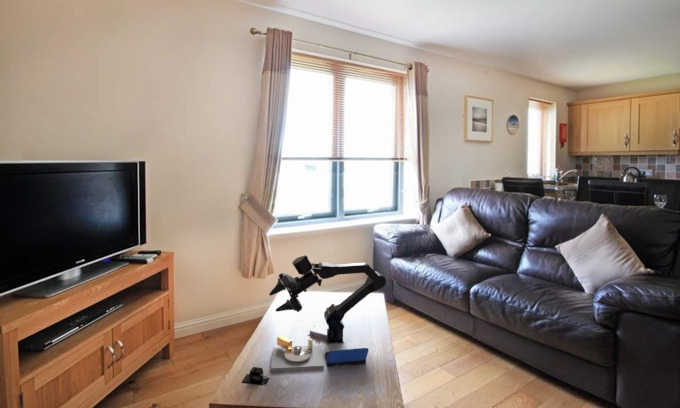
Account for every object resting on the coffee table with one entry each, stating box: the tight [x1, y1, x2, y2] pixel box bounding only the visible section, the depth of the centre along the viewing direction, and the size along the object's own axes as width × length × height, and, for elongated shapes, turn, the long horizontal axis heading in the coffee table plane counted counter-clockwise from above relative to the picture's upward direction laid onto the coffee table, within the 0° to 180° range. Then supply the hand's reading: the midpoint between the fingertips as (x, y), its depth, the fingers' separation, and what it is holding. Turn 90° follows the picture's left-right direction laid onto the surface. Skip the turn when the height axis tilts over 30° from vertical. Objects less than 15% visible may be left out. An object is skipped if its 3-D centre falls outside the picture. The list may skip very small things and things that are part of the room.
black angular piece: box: [241, 366, 272, 387], centre depth 133 cm, size 12×7×5 cm, turn 81°
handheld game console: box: [324, 347, 370, 368], centre depth 145 cm, size 16×13×9 cm
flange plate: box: [276, 334, 311, 363], centre depth 147 cm, size 14×14×5 cm
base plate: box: [270, 338, 325, 373], centre depth 146 cm, size 20×15×6 cm
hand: (272, 302), depth 154 cm, fingers open, 9 cm apart
